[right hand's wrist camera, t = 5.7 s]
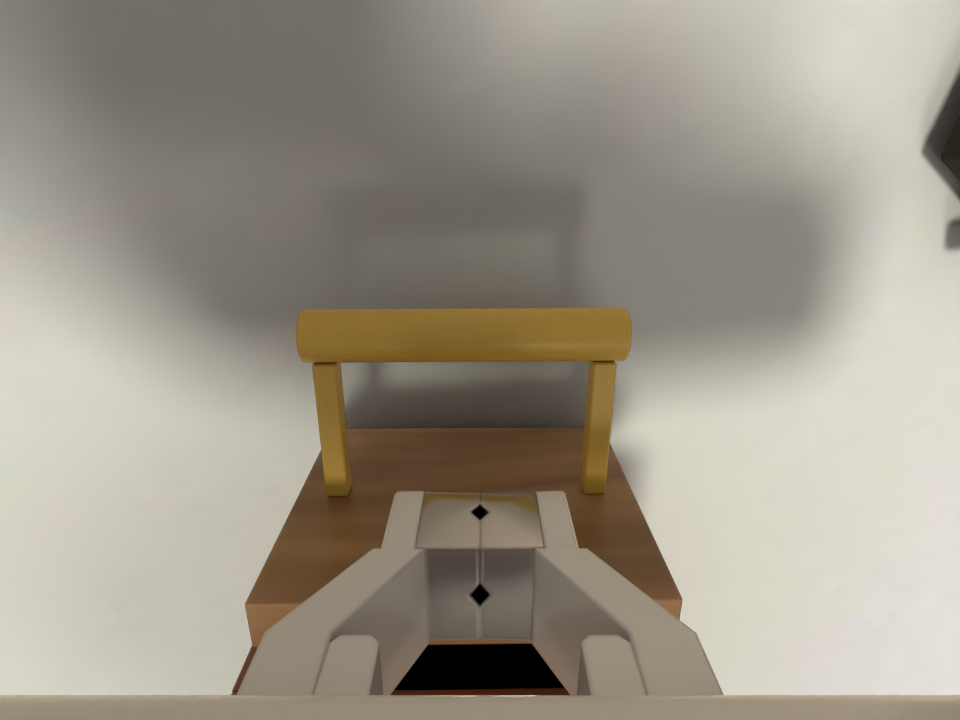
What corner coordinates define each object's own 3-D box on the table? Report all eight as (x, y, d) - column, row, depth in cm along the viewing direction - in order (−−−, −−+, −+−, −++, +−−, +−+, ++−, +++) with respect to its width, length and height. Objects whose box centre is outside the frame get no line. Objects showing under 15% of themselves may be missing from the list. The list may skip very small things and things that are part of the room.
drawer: (315, 277, 17) (200, 373, 10) (614, 276, 18) (718, 370, 10) (372, 824, 26) (333, 1086, 19) (569, 820, 27) (608, 1080, 19)
